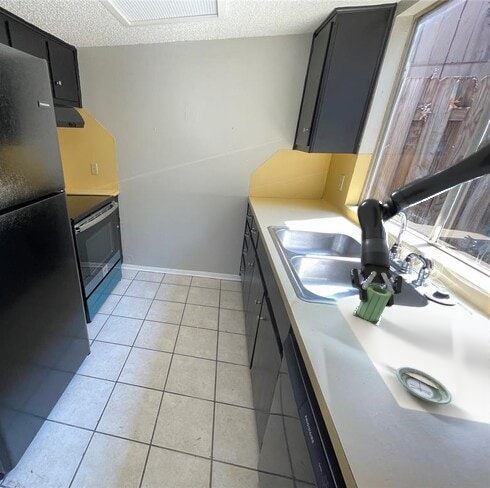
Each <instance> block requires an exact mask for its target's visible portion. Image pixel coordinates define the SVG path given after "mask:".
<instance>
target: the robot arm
mask: <svg viewBox="0 0 490 488" xmlns="http://www.w3.org/2000/svg"><path fill="white" fill-rule="evenodd" d="M488 175H490V136H489V137H486V138H485V139H484V140H482V141H481V142H480V143H479V145H478V146H477V148H476V150H475V151H474V152H472V153H471V154H469V155H468V156H466V157H464V158H463V159H461V160H458V161H457V162H455V163H453V164H450V165H448V166H446V167H444V168H440V169H438V170H436V171H434V172H431V173H428V174H426V175H423V176H422V177H419V178H416V179H414V180H412V181H410V182H408V183H406V184H404V185H401V186H399V187H397V188H395V189H393V190H392V191H391V192H390V193H389V196H388V197H389V199H387V200H386V201H384V202H383V203H382V201H380V200H379V199H376V198H366V199H364V200H362V201H361V202H360V203H359V204H358V206H357V210H356V216H357V220H358V221H357V222H358V224H359V228H360V231H361V232H360V236H361V237H360V240H361V241H360V250H359V253H360V269H358V268H357V267H353V269H351V270H350V271H349V275H350V281H351V286H352V287H353V288H354V289H357V290H358V298H359V301H360V302H364V303H365V302H367V290H366V288H367V287H368V285H377V286H380V287H383V288H385V289H387V290H388V291H390V292H391V296H390V298H389V300H388V302H387V304H386V306H385V308H392V307H393V306H394V305H395V302H394V301H395V300H394V296H396V295H400V294H402V287H403V276H402V275H394V274H392V273H391V271H390V270H391V259H390V258H391V257H390V255H391V254H390V246H389V240H388V230H387V227H386V226H385V224H384V223H385V222H388V221H390V220H391V219H393V218H394V217H396V216H397V215H398V214H400V213H402V212H403V211H404V210H405V209H408V208H410V207H412V206H414V205H417V204H420V203H421V202H424V201H426V200H429V199H430V198H433V197H435V196H438V195H439V194H442V193H444V192H446V191H449V190H450V189H453V188H455V187H457V186H460V185H463V184H466V183H468V182H471V181H473V180H476V179H479V178H482V177H484V176H488ZM359 276H361V277H362V278H363V279H362V280H361V282H360V277H359ZM391 282H392V284H391Z"/></svg>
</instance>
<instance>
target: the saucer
mask: <svg viewBox="0 0 490 488" xmlns="http://www.w3.org/2000/svg"><path fill="white" fill-rule="evenodd" d="M395 373H396V374H395V375H396V378H397V380H398V381H399V382H400V384H401V385H402V386H403V388H405V389H406V390H407V392H409V393H410V394H411V395H414V396H415V397H417V398H418V399H420V400H422V401H425V402H427V403H431V404H437V405H447V404H450V403H451V402H452V394H451V392H450V391H449V390H448V388H447V387H446V386H445V385H444V384H443V383H442V382H441V381H440V380H438V379H437V378H436V377H434V376H432V375H430V374H428V373H427V372H425V371H422V370H420V369H418V368H414V367H409V366H401V367H398V368H397V369H396V372H395ZM408 373H411V374H415V375H417V376H420V377H423V378H424V379H425V380H427V381H429V382H430V383H432V384H433V385H435V386H436V387H435V386H433V385H431V384H428V383H427V382H424V381H423V380H421V379H418V378H417V377H414V376H413V375H410V374H408Z"/></svg>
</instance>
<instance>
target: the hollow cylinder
mask: <svg viewBox="0 0 490 488" xmlns="http://www.w3.org/2000/svg"><path fill="white" fill-rule="evenodd" d="M366 290H367V302H365V303H364V302H361V301H360V302H359V304H358V309H357V311H356V313H357V314H358V315H359V316H360V317H362V318H363V319H365V320H369V321H372V322H376V321H378V320H379V318H380V316H382V315H383V312H384V310H385V308H386V304H387V302H388V300H389V298H390V296H391V292H390V291H388V290H387V289H385V288H383V287H380V286H379V285H376V284H369V285H368V287H367V288H366ZM374 290H378V291H381V292H382V293H383V294H382V293H378V292H376V291H374ZM363 319H362V320H363ZM365 320H364V321H365Z"/></svg>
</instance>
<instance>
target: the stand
mask: <svg viewBox="0 0 490 488" xmlns="http://www.w3.org/2000/svg"><path fill="white" fill-rule="evenodd" d="M374 291H376V292H378V293H382V292H381V291H378V290H374ZM382 294H383V293H382ZM358 307H359V305H356V307H355V309H354V311H353V313H352V316H353V317H356V318H358V319H360V320H363V321H366V322H368V323H369V324H370V323H371V324H373V325H375V326H378V327H379V326H380V323H381V320H382V317H383V316H382V315H381V316H380V318H379V320H378V321H376V322H372V321H369V320H365V319H363V318H362V317H360V316H359V315H358V314H357V313H356V311H357V309H358Z"/></svg>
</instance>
